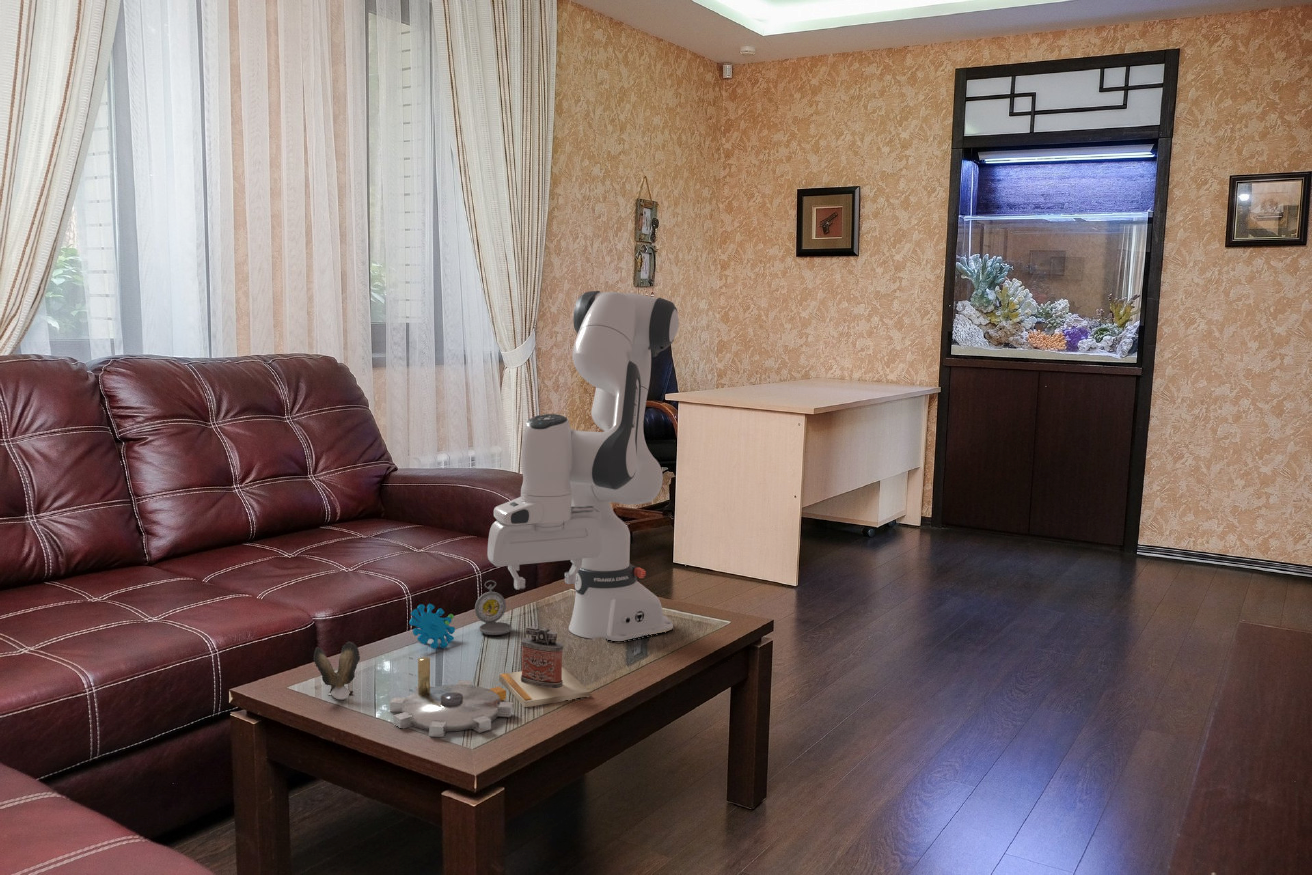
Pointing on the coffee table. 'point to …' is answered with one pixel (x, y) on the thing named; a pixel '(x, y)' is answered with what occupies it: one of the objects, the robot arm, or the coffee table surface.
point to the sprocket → (449, 705)
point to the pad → (543, 689)
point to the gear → (432, 626)
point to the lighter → (541, 658)
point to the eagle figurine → (344, 672)
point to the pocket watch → (487, 603)
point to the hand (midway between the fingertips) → (545, 585)
